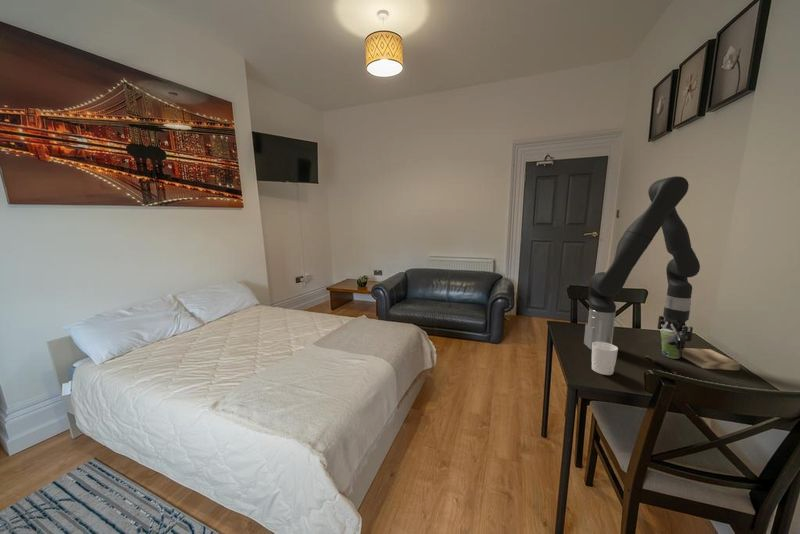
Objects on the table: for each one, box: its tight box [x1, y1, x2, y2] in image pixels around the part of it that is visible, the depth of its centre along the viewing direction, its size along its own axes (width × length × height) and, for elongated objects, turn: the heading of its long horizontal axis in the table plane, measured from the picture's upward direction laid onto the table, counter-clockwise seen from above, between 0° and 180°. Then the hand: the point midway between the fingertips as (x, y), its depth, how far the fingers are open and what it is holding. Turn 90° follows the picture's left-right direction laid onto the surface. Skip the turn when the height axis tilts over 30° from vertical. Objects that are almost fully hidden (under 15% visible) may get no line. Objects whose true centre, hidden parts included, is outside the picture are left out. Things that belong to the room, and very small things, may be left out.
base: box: [681, 347, 741, 371], centre depth 112 cm, size 12×12×3 cm
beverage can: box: [660, 328, 683, 359], centre depth 116 cm, size 6×7×12 cm
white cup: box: [591, 342, 619, 376], centre depth 106 cm, size 8×8×10 cm
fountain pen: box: [643, 355, 678, 375], centre depth 110 cm, size 14×1×2 cm, turn 1°
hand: (671, 345), depth 116 cm, fingers open, 7 cm apart
